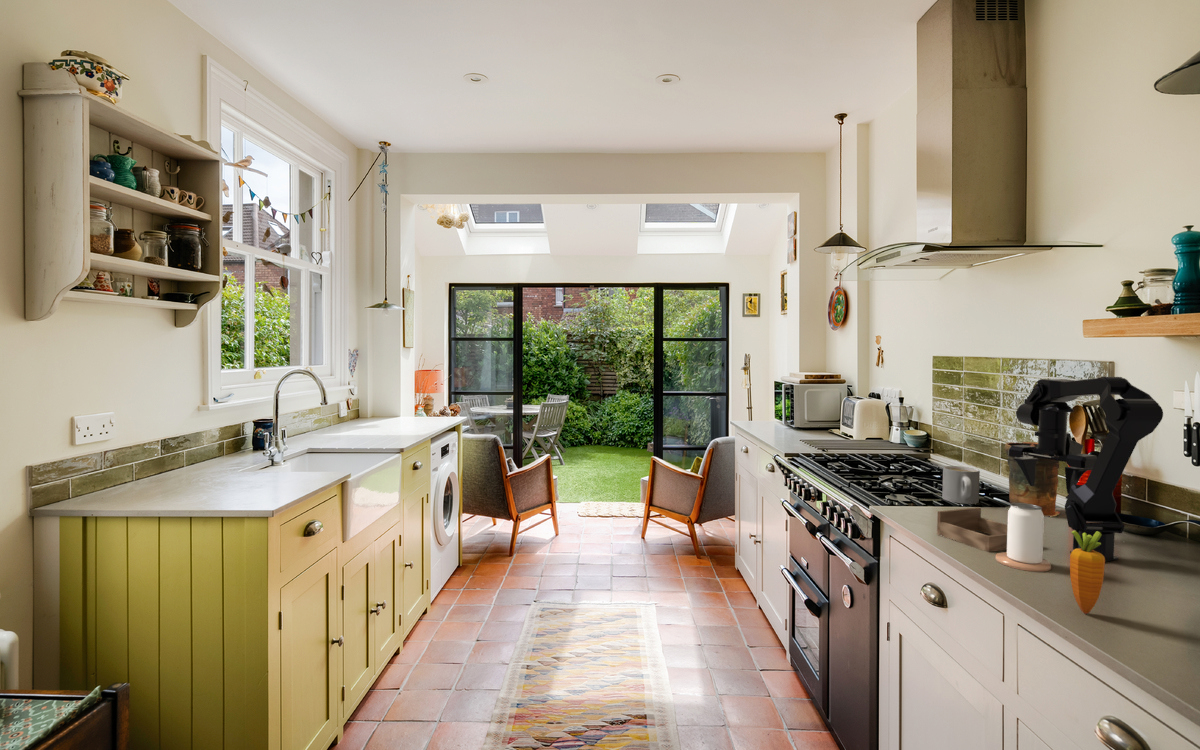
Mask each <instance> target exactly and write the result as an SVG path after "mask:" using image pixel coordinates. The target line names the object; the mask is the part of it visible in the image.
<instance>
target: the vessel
mask: <svg viewBox="0 0 1200 750" xmlns="http://www.w3.org/2000/svg"><path fill="white" fill-rule="evenodd" d="M1014 445H1027V446H1034V447H1036V448H1038V442H1033V441H1024V442H1013V441H1012V442H1011V441H1010V442H1006V443H1005V445H1004V450H1005V453H1006V454H1007V461H1006V462H1007V465H1008V468H1009V474H1008V489H1009V492H1008V493H1009V495H1008V496H1009V498H1008V499H1009V505H1008V506H1005V507H1004V508H1005V509H1009V508H1010V507H1011V503H1026V504H1032V505H1036V506H1039V507H1041V508H1042V509H1041V511H1042V513H1043V515H1044V516H1050V517H1049V518H1052V517H1057V516H1058V515H1060V511H1058V510H1056V506H1057V505H1056V503H1057V497H1058V495H1057V494H1058V485H1059V479H1058V478H1059V468H1060V461H1057V460H1050V459H1044V458H1038V457H1033V458H1038V459H1039V460H1038V461H1037V463H1036V465H1035V484H1034V486H1030V485H1029V483H1028V481H1027V479H1026V477H1025V475H1024V473H1023V471H1022V470H1021V468H1020V466H1019V465H1018V463H1017V462H1016V461H1015V460H1013V458H1015V457H1012V456H1008V450H1009V448H1010V447H1011V446H1014ZM1044 455H1048V456H1049V454H1045V453H1044ZM1058 458H1059V457H1058Z"/></svg>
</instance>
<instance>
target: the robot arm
mask: <svg viewBox="0 0 1200 750" xmlns="http://www.w3.org/2000/svg"><path fill="white" fill-rule="evenodd" d="M1089 396H1090V397H1092V396H1099V407H1100V408H1101V409H1102V411H1103V412H1104V413H1105V414H1106V415H1105V417H1104V420H1105V424H1106V426H1107V429H1108V434H1107V436H1106V438H1105V440H1104V442H1103V444H1102V446H1101V449H1100V451H1099V452H1098V453H1099V454H1098V455H1095V454H1087V453H1082V452H1083V449H1084V445H1083V444H1082V443H1079V442H1078V441H1076V440H1072V435H1071V433H1069V432H1068V430H1067V429H1068V413H1073V412H1074V409H1073V408H1072V406H1070V405H1069V404H1068V403H1069V402H1072V401H1075V400H1077V398H1080V397H1089ZM1114 396H1119V397H1121V398H1117V399H1115V397H1114ZM1023 401H1024V403H1022V404H1020V405H1019V407H1017V410H1016V412H1015V416H1016V418H1017V420H1018V421H1019V422H1020V423H1022V424H1025V425H1029V426H1030V425H1031V426H1037V427H1038V431H1034V436H1035V437H1038V438H1037V443H1038V448H1036V447H1034V446H1027V445H1014V446H1011V447H1010V448H1009V450H1008V455H1007V457H1008V456H1012V457H1015V458H1013V460H1015V461H1016V462H1017V463H1018V465H1019V466H1020V468H1021V470H1022V471H1023V473H1024V475H1025V477H1026V479H1027V481H1028V483H1029V485H1030V486H1034V484H1035V465H1036V463H1037V461H1038V460H1039V459H1038V458H1044V459H1050V460H1057V461H1059V462H1064V463H1066V464H1067V466H1065V467H1064V473H1065V474H1064V475H1065V477H1064V478H1065V488H1066V489H1065V490H1066V493H1067V495H1066V496H1065V499H1066V501H1065V503H1064V510H1065V511H1064V512H1065V515H1066V521H1067V525H1068V528H1071V530H1072V531H1076V532H1077V533H1078V534H1079V535H1080V537H1081V539H1082V542H1083V535H1082V534H1083V533H1086V534H1087V535H1091V536H1092V537H1093V535H1094V534H1095V532H1096V531H1098V532H1100V533H1101V534H1102V535H1101V537H1100V539H1099V540H1098V541H1097V542H1099V543H1101V545H1099V546H1098V547H1096V548H1095V549H1093V550H1094V551H1096V552H1099V553H1101V554H1102V555H1103V556H1104V558H1105V563H1107V562H1111V561H1117V560H1119V557H1118V556H1116V555H1115V536H1116V534H1123V532H1124V529H1125V524H1124V523H1123V521H1122V519H1121V518H1120V516H1119V514H1118V513H1117V511H1116V509H1117V508H1116V507H1117V502H1116V499H1115V497H1114V495H1113V493H1114V491H1115V489H1116V487H1117V485H1118V483H1119V481H1120V479H1121V477H1122V475H1123V473H1124V471H1125V469H1126V467H1127V464H1128V462H1129V461H1130V459H1131V456H1132V454H1133V453H1134V450H1135V448H1136V447H1137V444H1138V442H1139V441H1141V440H1142V439H1143V438H1145V437H1147V436H1148V435H1150V434H1152V433H1153V432H1155V429H1156V428H1158V426H1159V425H1160V423H1161V422H1162V420H1163V417H1164V411H1163V408H1162V407H1161V406H1160V404H1159V403H1158V401H1156V400H1155V399H1154V398H1153V397H1152V395H1151V394H1149V393H1147V392H1145V391H1143V390H1142V389H1140V388H1138V387H1136V386H1134V385H1133V384H1132V383H1131V382H1130V381H1129V380H1128V379H1127V378H1123V377H1122V376H1100V377H1096V378H1086V379H1077V380H1075V379H1074V380H1073V379H1068V378H1067V379H1065V378H1063V379H1061V378H1058V379H1057V378H1055V379H1054V378H1053V379H1051V378H1049V379H1048V378H1047V379H1046V378H1042V379H1041V378H1040V379H1039V380H1037V381H1036V384H1035V385H1034V387H1033V388H1032V389H1031V392H1030V393H1029V394H1028V396H1027V397H1026V398H1025V399H1024V400H1023ZM1044 453H1045V454H1049V456H1048V455H1044ZM1033 457H1038V458H1033ZM1058 457H1059V458H1058ZM1087 471H1090V473H1089V475H1088V477H1087V479H1086V482H1085V483H1084V484H1078V483H1079V481H1080V479H1081V478H1082V476H1083V475H1084V474H1086V473H1087ZM1090 540H1091V539H1090ZM1075 549H1081V547H1080V545H1079V543H1078V542H1077V540H1076V538H1075V537H1074V535H1073V534H1072V550H1070V551H1069V554H1071V552H1072V551H1073V550H1075Z"/></svg>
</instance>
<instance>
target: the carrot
mask: <svg viewBox="0 0 1200 750" xmlns="http://www.w3.org/2000/svg"><path fill="white" fill-rule="evenodd" d="M1071 534H1072V536H1073V535H1074V537H1075V538H1076V540H1077V542H1078V543H1079V545H1080V547H1081V549H1075V550H1073V549H1072V550H1071V551H1072V552H1071V554H1070V553H1069V554H1070V555H1069V573H1070V574H1069V575H1070V577H1069V578H1070V583H1071V588H1072V593H1073V596H1074V598H1075V601H1076V604H1077V605H1078V607H1079V609H1080V611H1081V612H1082V613H1083V614H1085V615H1087V614H1089V613H1090V612H1091V610H1093V609H1094V607H1095V605H1096V603H1097V602H1098V600H1099V598H1100V594H1101V591H1102V587H1103V584H1104V576H1105V569H1106V567H1105V566H1106V562H1105V558H1104V556H1103V555H1102V554H1101V553H1099V552H1096V551H1094V550H1093V549H1095V548H1096V547H1098V546H1099V545H1101V543H1099V542H1097V541H1098V540H1099V539H1100V537H1101V535H1102V534H1101V533H1100V532H1098V531H1096V532H1095V534H1094V535H1093V537H1092V536H1091V535H1087V534H1086V533H1083V534H1082V535H1083V542H1082V539H1081V537H1080V535H1079V534H1078V533H1077V532H1076V531H1075V530H1072V531H1071ZM1090 539H1091V540H1090Z"/></svg>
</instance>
